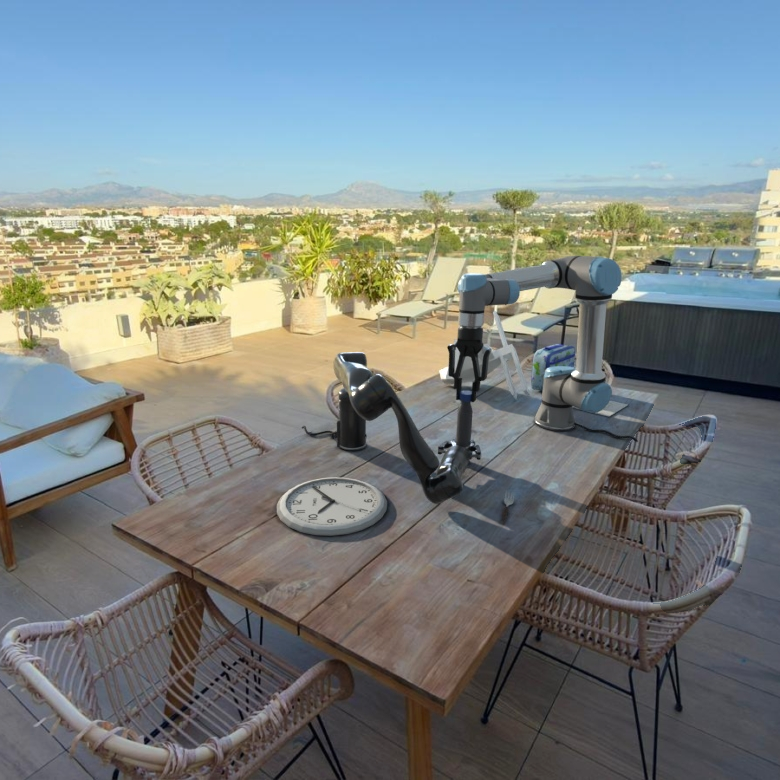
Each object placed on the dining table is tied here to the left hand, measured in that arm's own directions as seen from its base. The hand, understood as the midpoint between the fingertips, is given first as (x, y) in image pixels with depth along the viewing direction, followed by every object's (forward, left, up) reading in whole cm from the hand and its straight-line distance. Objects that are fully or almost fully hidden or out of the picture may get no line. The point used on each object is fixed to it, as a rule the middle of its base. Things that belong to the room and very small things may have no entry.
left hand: (464, 441), depth 171 cm
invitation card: (+47, +73, -6) cm, 87 cm away
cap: (0, -3, +17) cm, 18 cm away
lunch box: (+26, +93, -6) cm, 97 cm away
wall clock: (-28, -42, -6) cm, 51 cm away
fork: (+17, -30, -6) cm, 34 cm away
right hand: (0, -3, +15) cm, 16 cm away
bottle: (0, -3, -6) cm, 7 cm away
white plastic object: (-6, +75, -6) cm, 76 cm away
